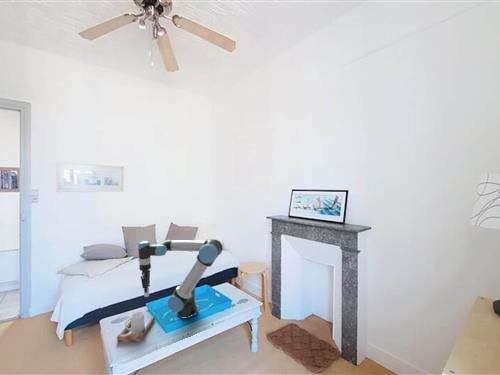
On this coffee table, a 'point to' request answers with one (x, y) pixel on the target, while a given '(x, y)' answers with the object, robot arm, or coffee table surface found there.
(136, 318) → the mug
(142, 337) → the guide
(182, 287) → the robot arm
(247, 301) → the coffee table surface
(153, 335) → the coffee table surface
